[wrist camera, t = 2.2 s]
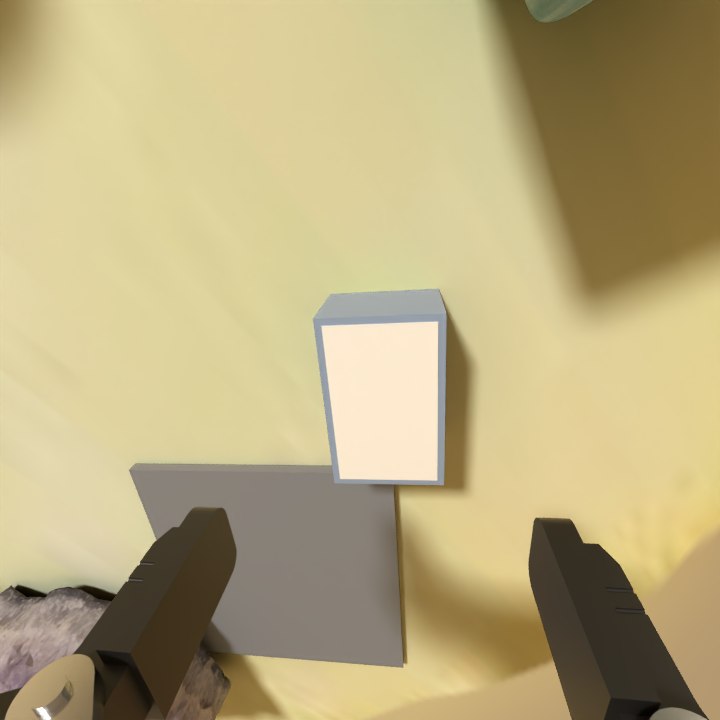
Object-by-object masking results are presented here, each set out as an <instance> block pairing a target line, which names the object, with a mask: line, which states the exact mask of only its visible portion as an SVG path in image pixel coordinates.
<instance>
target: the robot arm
mask: <svg viewBox="0 0 720 720" xmlns="http://www.w3.org/2000/svg"><path fill="white" fill-rule="evenodd" d="M236 557H237V549H236V544H235V541H234V538H233V534H232V531H231V527H230V524H229V520H228V517H227V513H226V511H225V509H224V508H219V507H194V508H193V509H191V510H190V512H189V513H188V514H187V516H186V517H185V519H184V520H183V522H182V523H181V525H180V526H179V527H172V528H171V529H170V530H168V531H167V532H166V533H165V534H164V535H163V536H161V537H160V538H159V539H158V540H157V541H155V542H154V543H153V545H152V546H151V548H150V549H149V550H148V552H147V553H146V554H145V556H144V557H143V559H142V560H141V561H140V565H139V566H137V567H136V568H135V570H134V571H133V573H132V574H131V575H130V577H129V580H128V582H125V584H124V585H123V586H122V588H121V589H120V591H119V592H118V593H117V595H116V596H115V598H114V599H113V600H112V602H111V603H110V605H109V606H108V607H107V609H106V610H105V611H104V613H103V614H102V616H101V617H100V618H99V620H98V621H97V623H96V624H95V625H94V627H93V628H92V630H91V631H90V632H89V634H88V635H87V636H86V638H85V639H84V641H83V642H82V643H81V645H80V646H79V647H78V649H77V650H76V651H75V652H74V653H73V654H72V655H69V656H65V657H62V658H60V659H58V660H56V661H54V662H52V663H50V664H49V665H47V666H46V667H44V668H43V669H42V670H40V671H39V672H38V673H37V674H35V675H34V676H33V677H32V678H31V679H30V680H29V681H28V682H27V683H26V684H25V685H24V686H23V687H21V688H18V689H14V690H11V691H7V692H3V693H0V720H145V719H146V718H152V719H161V720H165V719H166V717H167V715H168V713H169V711H170V708H171V706H172V704H173V702H174V700H175V697H176V695H177V693H178V691H179V689H180V687H181V684H182V682H183V680H184V678H185V676H186V673H187V671H188V669H189V667H190V665H191V663H192V660H193V658H194V656H195V654H196V652H197V649H198V647H199V645H200V643H201V641H202V639H203V636H204V634H205V632H206V630H207V628H208V626H209V623H210V621H211V619H212V617H213V615H214V612H215V610H216V608H217V606H218V604H219V602H220V599H221V597H222V595H223V593H224V591H225V588H226V586H227V584H228V582H229V580H230V578H231V575H232V573H233V571H234V568H235V564H236ZM529 577H530V582H531V587H532V591H533V594H534V597H535V601H536V604H537V607H538V610H539V614H540V617H541V620H542V623H543V627H544V630H545V633H546V637H547V640H548V643H549V646H550V650H551V653H552V656H553V659H554V663H555V666H556V669H557V672H558V676H559V679H560V682H561V685H562V689H563V692H564V695H565V698H566V702H567V705H568V708H569V712H570V715H571V717H572V720H709V719H708V718H707V716H706V715H705V714H704V713H703V711H702V710H701V708H700V707H699V705H698V704H697V702H696V700H695V699H694V698H693V695H692V694H691V692H690V690H689V688H688V686H687V685H686V683H685V681H684V680H683V677H682V676H681V674H680V672H679V670H678V669H677V667H676V665H675V663H674V661H673V660H672V658H671V656H670V654H669V652H668V651H667V649H666V647H665V645H664V643H663V642H662V640H661V638H660V636H659V634H658V633H657V631H656V629H655V627H654V626H653V624H652V622H651V620H650V618H649V616H648V615H646V614H645V611H644V608H643V606H642V604H641V602H640V600H639V599H638V597H637V595H636V594H634V592H633V588H632V586H631V584H630V582H629V581H628V579H627V577H626V575H625V574H624V572H623V570H622V568H621V566H620V565H619V564H618V563H617V562H616V561H615V560H614V559H613V558H612V557H611V556H610V555H609V554H608V553H607V552H606V551H605V550H604V549H603V548H602V547H601V546H600V545H599V544H586V543H583V541H582V539H581V537H580V535H579V533H578V531H577V529H576V527H575V525H574V523H573V522H572V521H571V520H570V519H561V518H535V520H534V525H533V533H532V540H531V547H530V555H529Z"/></svg>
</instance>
